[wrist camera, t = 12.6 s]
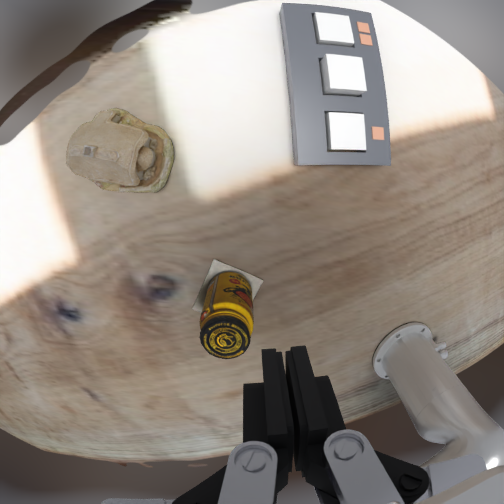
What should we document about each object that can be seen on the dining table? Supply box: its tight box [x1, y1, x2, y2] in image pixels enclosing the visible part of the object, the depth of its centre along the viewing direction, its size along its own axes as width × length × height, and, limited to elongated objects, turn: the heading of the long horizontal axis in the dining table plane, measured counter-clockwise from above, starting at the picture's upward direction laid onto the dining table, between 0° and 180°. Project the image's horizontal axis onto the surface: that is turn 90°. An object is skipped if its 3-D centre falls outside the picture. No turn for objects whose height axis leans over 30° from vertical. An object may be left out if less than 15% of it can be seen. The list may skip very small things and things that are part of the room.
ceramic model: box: [66, 108, 174, 192], centre depth 28 cm, size 14×11×10 cm
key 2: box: [319, 54, 367, 97], centre depth 27 cm, size 4×4×4 cm
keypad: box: [280, 3, 391, 166], centre depth 29 cm, size 12×22×3 cm, turn 4°
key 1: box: [312, 12, 354, 47], centre depth 26 cm, size 4×4×4 cm
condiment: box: [192, 259, 264, 359], centre depth 34 cm, size 7×8×12 cm
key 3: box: [325, 112, 366, 150], centre depth 30 cm, size 4×4×4 cm
